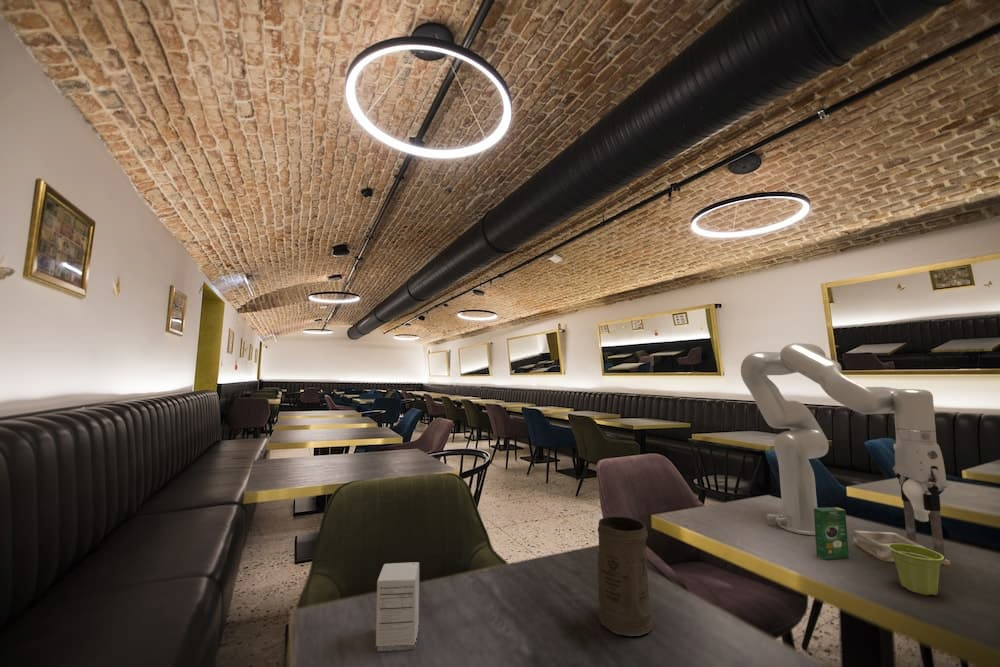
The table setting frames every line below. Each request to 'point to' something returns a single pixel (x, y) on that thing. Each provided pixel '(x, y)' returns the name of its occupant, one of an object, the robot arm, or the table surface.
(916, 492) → the lightbulb
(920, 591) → the plant pot
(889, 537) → the socket stand
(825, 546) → the coffee box
